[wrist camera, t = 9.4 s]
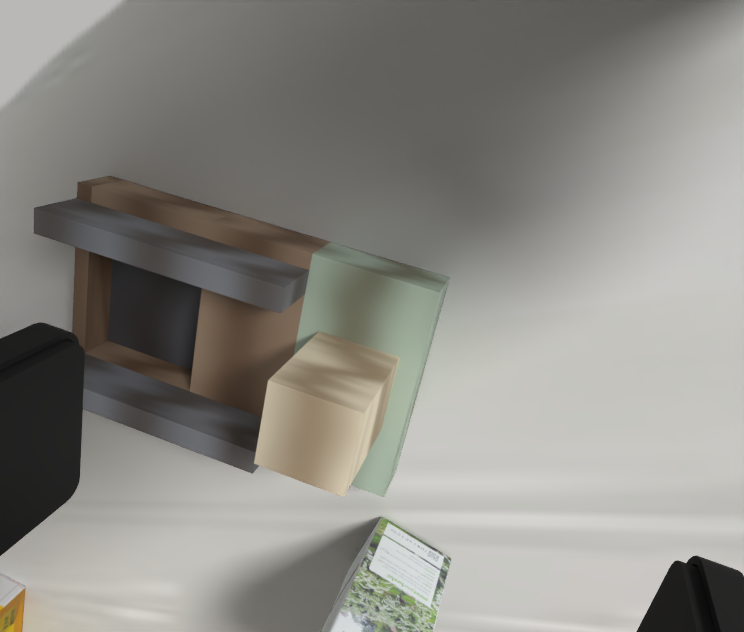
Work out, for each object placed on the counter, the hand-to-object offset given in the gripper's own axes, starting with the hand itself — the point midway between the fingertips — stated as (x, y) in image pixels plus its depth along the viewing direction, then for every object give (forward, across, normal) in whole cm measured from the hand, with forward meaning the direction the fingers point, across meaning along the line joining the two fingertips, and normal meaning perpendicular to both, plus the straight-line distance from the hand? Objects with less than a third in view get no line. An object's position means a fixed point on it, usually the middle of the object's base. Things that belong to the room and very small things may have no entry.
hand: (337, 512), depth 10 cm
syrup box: (+28, 0, +26) cm, 39 cm away
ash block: (+25, +6, +12) cm, 29 cm away
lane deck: (+28, +14, +12) cm, 33 cm away
